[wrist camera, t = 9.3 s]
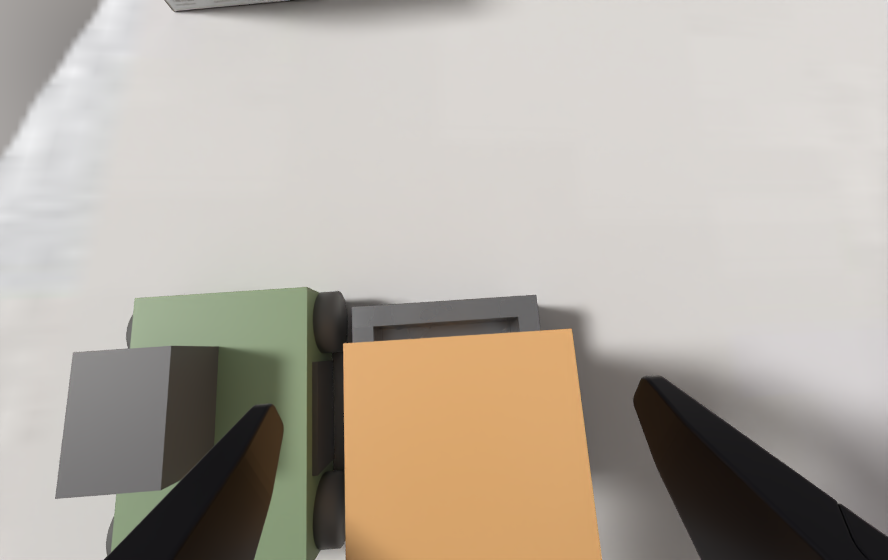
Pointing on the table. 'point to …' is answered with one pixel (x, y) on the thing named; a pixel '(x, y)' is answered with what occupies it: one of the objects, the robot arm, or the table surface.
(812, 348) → the table surface
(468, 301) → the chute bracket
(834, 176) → the table surface
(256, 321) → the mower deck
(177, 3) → the light bulb box
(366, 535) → the tan rectangular block
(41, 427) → the table surface
